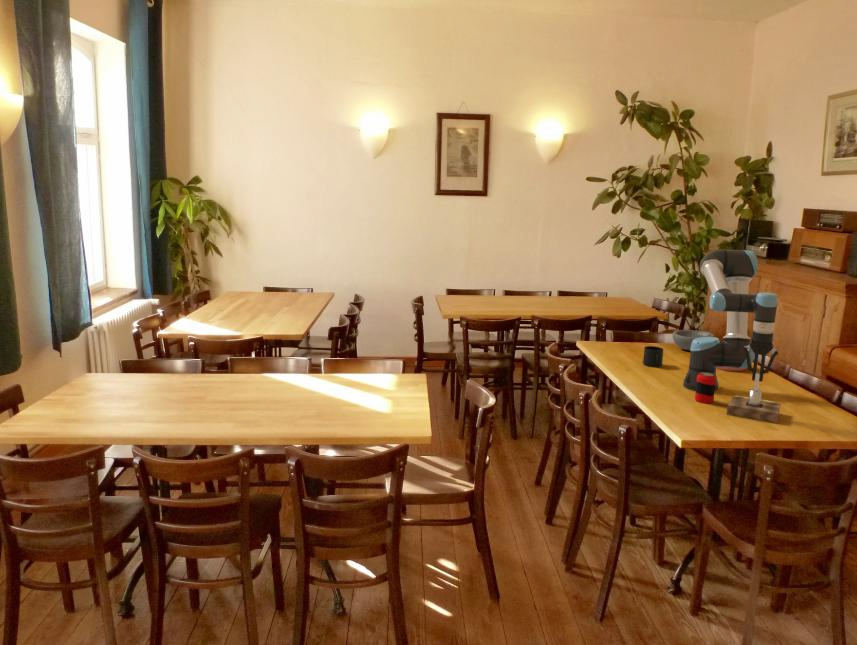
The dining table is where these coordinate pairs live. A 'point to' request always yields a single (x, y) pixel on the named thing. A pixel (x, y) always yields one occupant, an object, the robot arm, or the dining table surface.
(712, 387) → the soda can
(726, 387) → the dining table surface
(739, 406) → the jig
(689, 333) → the bowl
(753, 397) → the bushing
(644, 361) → the mug
